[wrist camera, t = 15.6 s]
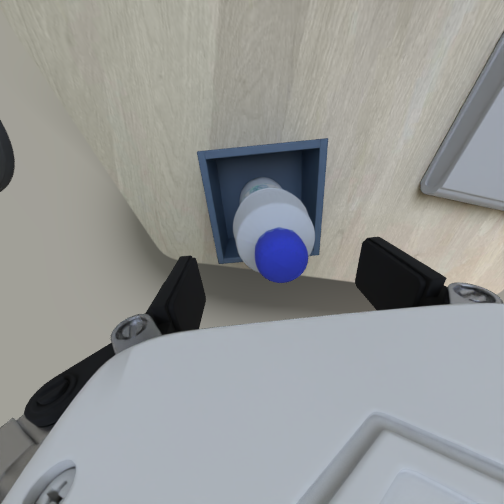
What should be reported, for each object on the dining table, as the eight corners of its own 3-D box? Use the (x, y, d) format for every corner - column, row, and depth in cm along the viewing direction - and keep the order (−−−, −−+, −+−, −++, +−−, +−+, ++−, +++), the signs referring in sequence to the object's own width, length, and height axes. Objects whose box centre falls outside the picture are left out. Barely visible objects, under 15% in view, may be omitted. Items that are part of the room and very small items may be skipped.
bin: (224, 241, 33) (218, 264, 26) (209, 152, 27) (196, 151, 20) (303, 233, 33) (319, 255, 26) (307, 142, 27) (328, 138, 20)
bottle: (291, 201, 29) (360, 272, 12) (257, 227, 31) (271, 324, 13) (265, 163, 27) (302, 180, 9) (229, 194, 29) (201, 259, 11)
